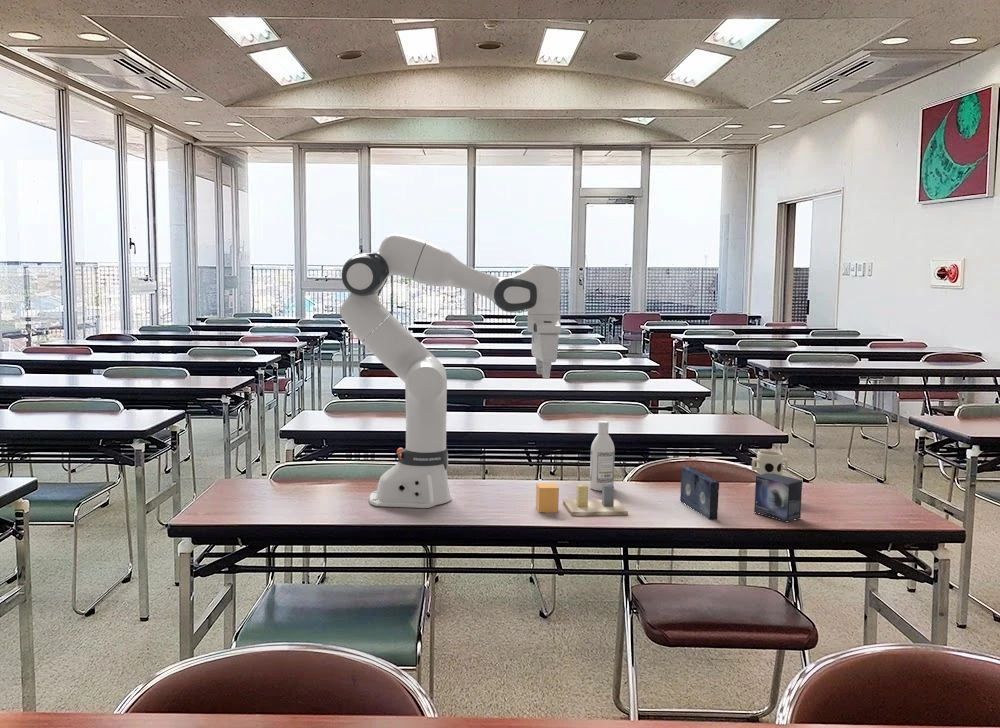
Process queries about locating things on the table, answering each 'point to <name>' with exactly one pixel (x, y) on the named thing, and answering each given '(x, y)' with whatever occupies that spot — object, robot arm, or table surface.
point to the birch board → (594, 508)
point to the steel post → (607, 495)
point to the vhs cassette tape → (699, 492)
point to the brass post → (582, 495)
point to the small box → (778, 496)
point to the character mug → (769, 462)
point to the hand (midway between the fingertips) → (543, 376)
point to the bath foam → (602, 458)
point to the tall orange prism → (547, 497)
